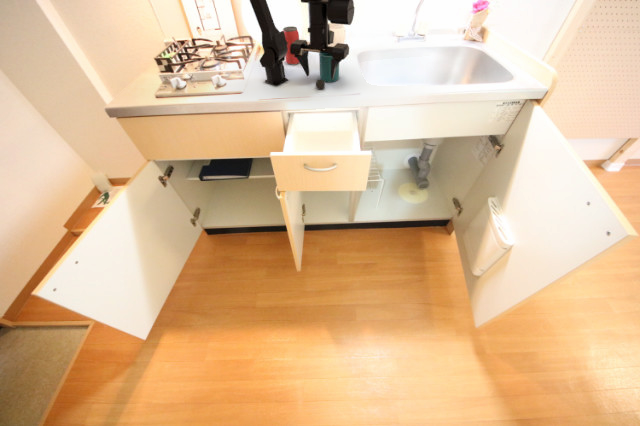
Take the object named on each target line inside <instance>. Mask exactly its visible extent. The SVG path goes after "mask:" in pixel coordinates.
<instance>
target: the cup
mask: <svg viewBox="0 0 640 426" xmlns="http://www.w3.org/2000/svg"><path fill="white" fill-rule="evenodd" d="M328 24H329V27H330V30H331V31H333V32H334V40H333V43H331V44H330V45H328V46H330V47H334V46H335V45H336V44H337V43H341V44H345V41H346V28H345V27H346V26H345V25H344V24H332V23H331V22H328ZM323 50H325V49H323Z"/></svg>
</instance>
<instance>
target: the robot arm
mask: <svg viewBox="0 0 640 426" xmlns="http://www.w3.org/2000/svg"><path fill="white" fill-rule="evenodd" d="M248 1H249V3H250V5H251V8H252V11H253V14H254V16H255V18H256V21H257V25H258V27H259V29H260V32H261V46H262V49H263V50H262V51H263V54H262V55H261V57H260V59H259V63H260V65H261V67H262V68H264V70H265V76H266V79H265V80H264V82H265V83H266V84H269V85H272V86H275V87H278V86H279V85H281V84H284V83H285V82H288V81H289V79H288V78H287V77H286V72H285V66H284V63H283V62H284V61H286V58H285V55H286V54H287V51H288V47H287V45H288V43H287V41H286V38H285V34H284V32H283V30H281V31H280V30H279V29H278V27H276V24H275V22H274V19H273V15H272V13H271V10H270V8H269V5H268V1H267V0H248ZM300 2H301V3H305V4H307V8H308V9H307V11H308V28H307V33H309V43H308V41H307V40H306V39H299V40H298V39H297V40H296V41H294V42H293V43H292V44H291V45H290V53H291V54H294V57H296V58H297V59H298V61H299V62H300V63H299V64H300V66H301V68H302V69H303V72H304V73H305V75H306V77H309V76H310V67H309V66H310V65H309V52H310V53H318V54H319V53H328V54H332V57H333V58H332V59H331V80H333V78H334V75H335V72H336V69H337V66H338V63H339V64H340V63H341V62H342V61H343V60H345V59H346V58H347V57H348V55H349V54H350V46H349V44H348V43H344V44H341V43H337V44H336V45H335V46H334V47H330V46H328V45H330V44H331V43H333V40H334V32H333V31H331V30H330V27H329V24H328V23H332V24H343V25H344V26H345V25H346V26H351V25H352V23H353V20H354V16H355V4H354V2H355V1H354V0H300ZM323 49H325V50H323Z"/></svg>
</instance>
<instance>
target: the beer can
mask: <svg viewBox="0 0 640 426" xmlns="http://www.w3.org/2000/svg"><path fill="white" fill-rule="evenodd" d="M282 31H283V32H284V34H285V38H286V41H287V43H288V45H287V47H288V51H287V54H286V55H285V63H286V64H288V65H298V64H300V62H299V61H298V59H297V58H296V57H294V54H291V53H290V45H291V44H292V43H293V42H294V41H296V40H297V39H298V40H300V34H299V30H298V27H297V26H285V27H283V28H282Z"/></svg>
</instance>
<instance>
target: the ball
mask: <svg viewBox="0 0 640 426" xmlns="http://www.w3.org/2000/svg"><path fill="white" fill-rule="evenodd" d="M325 86H326V82H324V81H323V80H322V79H320V78H319V79H317V80H316V82H315V87H316V88H317V89H318V90H323V89H324V88H325Z"/></svg>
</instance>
